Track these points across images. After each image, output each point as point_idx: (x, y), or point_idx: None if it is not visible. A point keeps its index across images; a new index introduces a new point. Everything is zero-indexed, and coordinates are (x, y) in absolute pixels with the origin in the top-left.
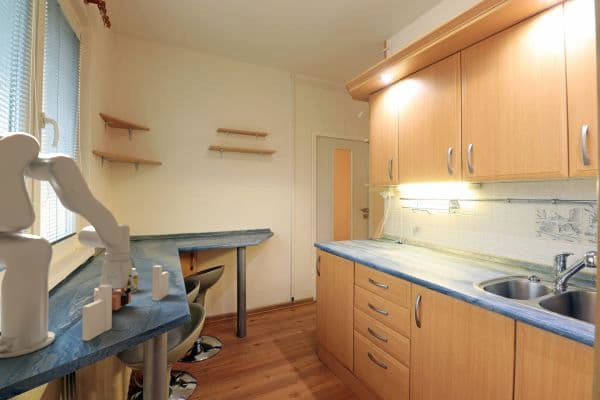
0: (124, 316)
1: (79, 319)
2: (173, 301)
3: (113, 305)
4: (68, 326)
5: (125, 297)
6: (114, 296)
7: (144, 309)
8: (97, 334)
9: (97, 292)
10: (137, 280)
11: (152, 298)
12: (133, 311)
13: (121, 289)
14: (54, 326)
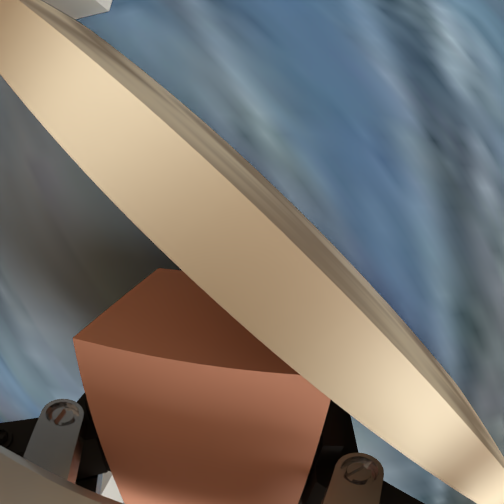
0: (74, 211)
1: (432, 134)
2: (13, 420)
3: (168, 287)
4: (403, 9)
5: (82, 397)
6: (97, 343)
7: (43, 338)
8: None
9: (475, 433)
10: None
11: (110, 474)
12: (79, 310)
13: (59, 474)
14: (492, 33)
